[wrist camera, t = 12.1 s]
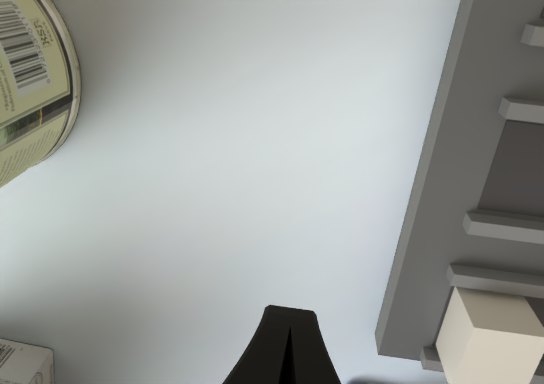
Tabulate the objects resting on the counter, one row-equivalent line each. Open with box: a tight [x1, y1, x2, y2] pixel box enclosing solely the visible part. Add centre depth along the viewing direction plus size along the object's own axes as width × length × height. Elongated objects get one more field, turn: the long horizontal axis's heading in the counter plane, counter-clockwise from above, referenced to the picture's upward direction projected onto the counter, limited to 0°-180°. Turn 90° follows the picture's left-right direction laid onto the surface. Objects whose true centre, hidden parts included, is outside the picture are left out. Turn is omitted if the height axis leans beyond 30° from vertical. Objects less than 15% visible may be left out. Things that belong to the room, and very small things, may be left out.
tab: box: [436, 286, 544, 384], centre depth 21 cm, size 3×4×3 cm
